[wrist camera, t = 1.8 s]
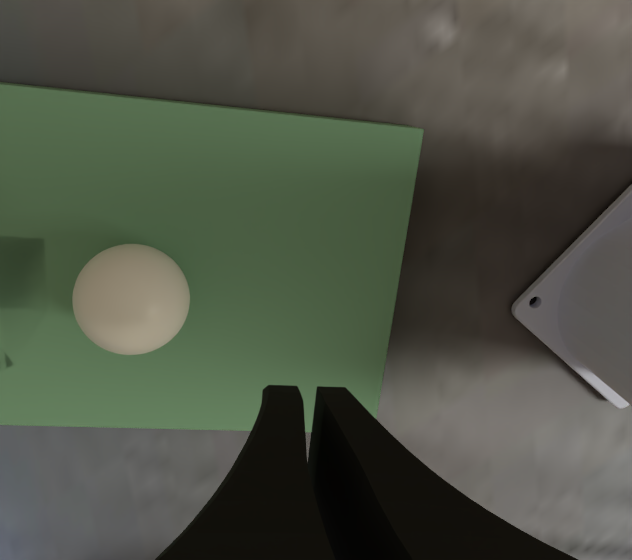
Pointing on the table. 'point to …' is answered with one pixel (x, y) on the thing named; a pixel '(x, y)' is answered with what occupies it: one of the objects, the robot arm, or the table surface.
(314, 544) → the robot arm
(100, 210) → the green
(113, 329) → the ball
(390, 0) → the table surface
